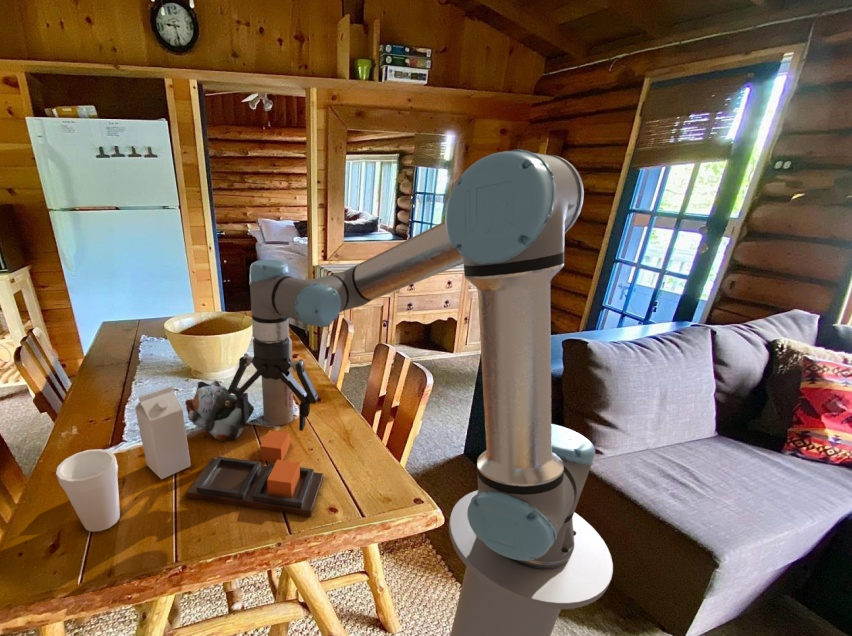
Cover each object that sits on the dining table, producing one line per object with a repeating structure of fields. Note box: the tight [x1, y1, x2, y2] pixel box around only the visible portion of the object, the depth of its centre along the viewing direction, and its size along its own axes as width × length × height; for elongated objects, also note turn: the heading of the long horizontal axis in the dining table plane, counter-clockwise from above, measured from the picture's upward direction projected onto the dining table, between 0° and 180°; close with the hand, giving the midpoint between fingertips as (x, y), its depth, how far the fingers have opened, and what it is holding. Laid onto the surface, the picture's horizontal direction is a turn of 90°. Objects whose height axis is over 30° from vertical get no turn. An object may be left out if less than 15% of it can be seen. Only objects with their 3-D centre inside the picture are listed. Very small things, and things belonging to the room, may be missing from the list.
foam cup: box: [55, 448, 121, 533], centre depth 81 cm, size 10×9×13 cm
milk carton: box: [134, 386, 192, 480], centre depth 95 cm, size 7×7×19 cm
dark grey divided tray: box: [186, 455, 324, 517], centre depth 93 cm, size 26×12×3 cm, turn 80°
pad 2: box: [267, 459, 301, 498], centre depth 91 cm, size 5×7×4 cm
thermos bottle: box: [261, 334, 294, 426], centre depth 113 cm, size 8×8×28 cm
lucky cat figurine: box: [184, 379, 255, 442], centre depth 111 cm, size 15×12×14 cm
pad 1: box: [259, 429, 290, 463], centre depth 104 cm, size 5×7×4 cm
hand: (273, 424), depth 101 cm, fingers open, 13 cm apart
